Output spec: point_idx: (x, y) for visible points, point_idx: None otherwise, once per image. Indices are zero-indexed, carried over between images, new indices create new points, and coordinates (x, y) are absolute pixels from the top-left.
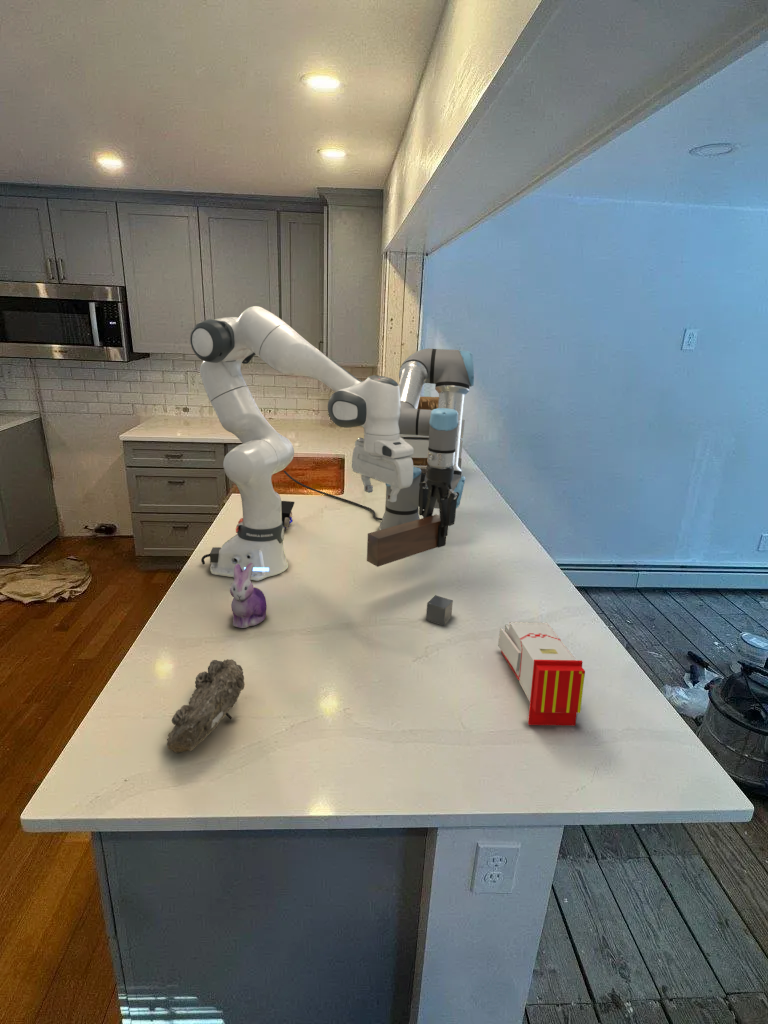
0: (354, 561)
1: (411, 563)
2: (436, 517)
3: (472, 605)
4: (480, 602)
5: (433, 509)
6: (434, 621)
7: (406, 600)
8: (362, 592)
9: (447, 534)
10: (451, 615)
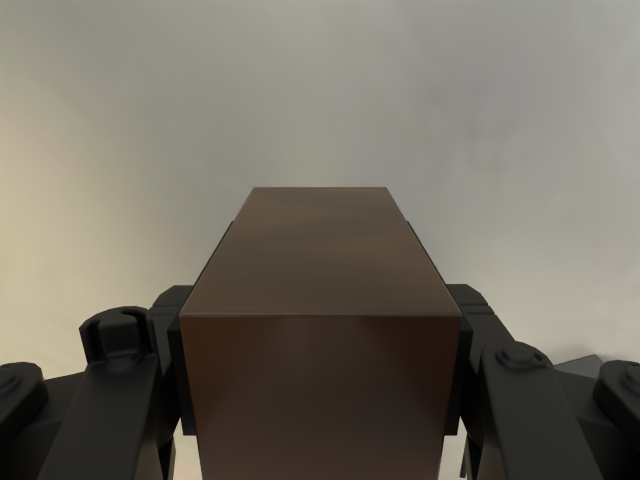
0: (6, 346)
1: (137, 152)
2: (296, 414)
3: (617, 230)
4: (634, 181)
5: (136, 477)
6: None
7: None
8: None
9: (481, 296)
10: (600, 359)
